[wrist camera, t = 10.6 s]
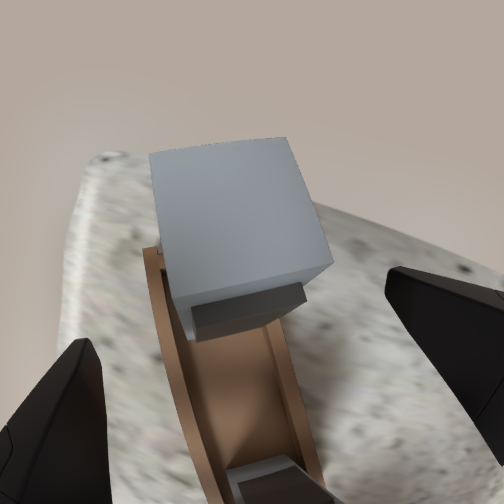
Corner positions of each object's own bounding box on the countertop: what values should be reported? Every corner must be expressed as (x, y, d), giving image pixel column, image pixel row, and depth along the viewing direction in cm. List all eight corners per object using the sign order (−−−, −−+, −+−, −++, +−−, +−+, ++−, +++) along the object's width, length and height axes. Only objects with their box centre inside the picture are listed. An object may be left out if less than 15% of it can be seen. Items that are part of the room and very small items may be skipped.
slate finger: (251, 335, 19) (341, 284, 7) (190, 349, 18) (178, 325, 6) (233, 268, 21) (285, 137, 9) (174, 280, 20) (148, 153, 8)
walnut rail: (315, 485, 17) (401, 550, 7) (216, 515, 15) (238, 613, 5) (248, 242, 23) (290, 145, 13) (146, 261, 21) (110, 170, 11)
